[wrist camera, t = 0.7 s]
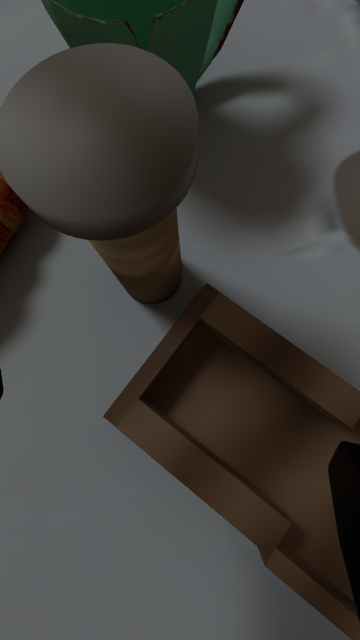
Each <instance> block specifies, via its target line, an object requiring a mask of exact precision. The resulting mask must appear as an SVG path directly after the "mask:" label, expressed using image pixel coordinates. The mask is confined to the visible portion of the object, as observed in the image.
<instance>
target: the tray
mask: <svg viewBox="0 0 360 640" xmlns="http://www.w3.org/2000/svg"><path fill="white" fill-rule="evenodd" d="M103 417H104V418H106V419H107V420H108V421H109V422H110V423H112V424H113V425H114V426H115V427H116V428H117V429H119V430H120V431H121V432H122V433H123V434H125V435H126V436H127V437H128V438H129V439H131V440H132V441H133V442H134V443H135V444H136V445H138V446H139V447H140V448H141V449H142V450H144V451H145V452H146V453H147V454H148V455H150V456H151V457H152V458H153V459H154V460H155V461H157V462H158V463H159V464H160V465H161V466H163V467H164V468H165V469H166V470H167V471H169V472H170V473H171V474H172V475H173V476H175V477H176V478H177V479H178V480H179V481H180V482H182V483H183V484H184V485H185V486H186V487H188V488H189V489H190V490H191V491H192V492H194V493H195V494H196V495H197V496H198V497H199V498H201V499H202V500H203V501H204V502H205V503H207V504H208V505H209V506H210V507H211V508H213V509H214V510H215V511H216V512H217V513H219V514H220V515H221V516H222V517H223V518H224V519H226V520H227V521H228V522H229V523H230V524H232V525H233V526H234V527H235V528H236V529H238V530H239V531H240V532H241V533H242V534H243V535H245V536H246V537H247V538H248V539H249V540H251V541H252V542H253V543H254V544H255V545H257V547H258V549H259V552H260V554H261V557H262V560H263V562H264V565H265V566H266V567H267V568H268V569H269V570H271V571H272V572H273V573H274V574H275V575H276V576H278V577H279V578H280V579H281V580H282V581H284V582H285V583H286V584H287V585H288V586H289V587H291V588H292V589H293V590H294V591H295V592H297V593H298V594H299V595H300V596H301V597H302V598H304V599H305V600H306V601H307V602H308V603H309V604H311V605H312V606H313V607H314V608H315V609H317V610H318V611H319V612H320V613H321V614H322V615H324V616H325V617H326V618H327V619H328V620H329V621H331V622H332V623H333V624H334V625H335V626H337V627H338V628H339V629H340V630H341V631H342V632H344V633H345V634H346V635H347V636H348V637H350V638H351V639H352V640H360V621H359V618H358V614H357V610H356V606H355V602H354V598H353V594H352V590H351V586H350V582H349V579H348V575H347V571H346V567H345V563H344V559H343V555H342V551H341V547H340V543H339V538H338V533H337V527H336V521H335V514H334V508H333V501H332V495H331V488H330V482H329V475H328V466H329V462H330V460H331V458H332V456H333V454H334V452H335V450H336V448H337V447H338V445H339V443H340V442H342V441H348V442H353V443H357V444H360V391H358V390H357V389H355V388H354V387H353V386H351V385H350V384H348V383H347V382H346V381H344V380H343V379H341V378H340V377H338V376H337V375H336V374H334V373H333V372H331V371H330V370H329V369H327V368H326V367H324V366H323V365H322V364H320V363H319V362H317V361H316V360H315V359H313V358H312V357H310V356H309V355H307V354H306V353H305V352H303V351H302V350H300V349H299V348H298V347H296V346H295V345H293V344H292V343H291V342H289V341H288V340H286V339H285V338H283V337H282V336H281V335H279V334H278V333H276V332H275V331H274V330H272V329H271V328H269V327H268V326H267V325H265V324H264V323H262V322H261V321H260V320H258V319H257V318H255V317H254V316H252V315H251V314H250V313H248V312H247V311H245V310H244V309H243V308H241V307H240V306H238V305H237V304H236V303H234V302H233V301H231V300H230V299H228V298H227V297H226V296H224V295H223V294H221V293H220V292H219V291H217V290H216V289H214V288H213V287H212V286H210V285H209V284H207V283H206V284H205V285H204V287H203V288H202V289H201V290H200V292H199V293H198V294H197V296H196V297H195V298H194V300H193V301H192V302H191V303H190V305H189V306H188V307H187V309H186V310H185V311H184V312H183V314H182V315H181V316H180V318H179V319H178V320H177V321H176V323H175V324H174V325H173V327H172V328H171V329H170V331H169V332H168V333H167V334H166V336H165V337H164V338H163V340H162V341H161V342H160V343H159V345H158V346H157V347H156V349H155V350H154V351H153V352H152V354H151V355H150V356H149V358H148V359H147V360H146V362H145V363H144V364H143V365H142V367H141V368H140V369H139V371H138V372H137V373H136V374H135V376H134V377H133V378H132V380H131V381H130V382H129V383H128V385H127V386H126V387H125V389H124V390H123V391H122V393H121V394H120V395H119V396H118V398H117V399H116V400H115V402H114V403H113V404H112V405H111V407H110V408H109V409H108V411H107V412H106V413H105V414H104V416H103Z"/></svg>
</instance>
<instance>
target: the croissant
mask: <svg viewBox="0 0 360 640" xmlns="http://www.w3.org/2000/svg"><path fill="white" fill-rule="evenodd" d="M27 208H28V206H27V205H26V203H25V202H24V201H23V200H22V199H21V198H20V197H19V196H18V195H17V194H16V193H15V192H14V191H13V189H12V188H11V187H10V186H9V185H8V183H7V181H6V180H5V178H4V177H3V175H2V173H1V171H0V256H1V254H2V252H3V250H4V249H5V247H6V246H7V244H8V243H9V241H10V240H11V238H12V236H13V234H14V232H16V231H17V230H18V229H19V228H20V226H21V224H22V222H23V220H24V217H25V214H26V211H27Z"/></svg>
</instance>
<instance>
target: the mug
mask: <svg viewBox="0 0 360 640" xmlns="http://www.w3.org/2000/svg"><path fill="white" fill-rule="evenodd" d="M41 1H42V3H43V5H44V7H45V9H46V10H47V12H48V14H49V15H50V17H51V19H52V20H53V22H54V24H55V25H56V27H57V28H58V30H59V32H60V33H61V35H62V36H63V38H64V39H65V41H66V43H67V44H68V46H69V47H70V48H74V47H77V46H82V45H87V44H97V43H115V44H123V45H129V46H133V47H137V48H140V49H143V50H145V51H148V52H150V53H152V54H154V55H156V56H158V57H160V58H161V59H163V60H164V61H166V62H167V63H169V64H170V65H171V66H172V67H173V68H174V69H175V70H176V71H178V73H179V74H180V75H181V76H182V77H183V79H184V80H185V81H186V83H187V85H188V86H189V88H190V89H191V92H192V94H193V92H194V89H195V86H196V83H197V81H198V80H199V79H200V77H201V76H202V74H203V73H204V72H205V70H206V69H207V68H208V66H209V65H210V64H211V62H212V61H213V59H214V58H215V57H216V55H217V54H218V53H219V51H220V50H221V48H222V46H223V44H224V42H225V39H226V37H227V35H228V33H229V31H230V29H231V27H232V25H233V22H234V20H235V18H236V16H237V14H238V12H239V10H240V8H241V6H242V3H243V1H244V0H41Z"/></svg>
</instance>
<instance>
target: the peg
mask: <svg viewBox="0 0 360 640" xmlns="http://www.w3.org/2000/svg"><path fill="white" fill-rule="evenodd" d="M198 142H199V117H198V110H197V106H196V102H195V99H194V96H193V94H192V92H191V89H190V88H189V86H188V85H187V83H186V81H185V80H184V79H183V77H182V76H181V75H180V74H179V73H178V71H176V70H175V69H174V68H173V67H172V66H171V65H170V64H169V63H167V62H166V61H164V60H163V59H161V58H160V57H158V56H156V55H154V54H152V53H150V52H148V51H145V50H143V49H140V48H137V47H133V46H129V45H123V44H115V43H97V44H87V45H82V46H77V47H74V48H70V49H67V50H64V51H62V52H59V53H57V54H55V55H52V56H50V57H49V58H47V59H45V60H43V61H42V62H40V63H39V64H37V65H36V66H34V67H33V68H32V69H30V70H29V71H28V72H27V73H26V74H25V75H24V76H23V77H21V79H20V80H19V81H18V82H17V83H16V84H15V85H14V87H13V88H12V89H11V91H10V92H9V94H8V95H7V97H6V99H5V101H4V102H3V104H2V106H1V109H0V170H1V173H2V175H3V177H4V178H5V180H6V181H7V183H8V185H9V186H10V187H11V188H12V189H13V191H14V192H15V193H16V194H17V195H18V196H19V197H20V198H21V199H22V200H23V201H24V202H25V203H26V205H27V206H28V207H29V208H30V209H31V210H32V211H33V212H34V213H35V214H36V215H37V216H38V217H39V218H40V219H41V220H43V221H44V222H45V223H46V224H48V225H49V226H51V227H52V228H54V229H55V230H58V231H60V232H62V233H64V234H66V235H69V236H73V237H76V238H80V239H86V240H89V241H90V243H91V244H92V245H93V247H94V248H95V249H96V251H97V252H98V253H99V255H100V256H101V257H102V259H103V260H104V261H105V263H106V264H107V265H108V267H109V268H110V269H111V271H112V272H113V273H114V275H115V276H116V277H117V279H118V280H119V281H120V283H121V284H122V285H123V287H124V288H125V290H126V291H127V292H128V293H129V295H130V296H131V297H133V298H134V299H135V300H137V301H139V302H142V303H146V304H157V303H161V302H164V301H166V300H168V299H169V298H171V297H172V296H173V295H174V294H175V293H176V292H177V290H178V288H179V286H180V284H181V281H182V265H181V254H180V243H179V232H178V221H177V209H176V207H177V206H178V205H179V204H180V203H181V201H182V200H183V198H184V197H185V196H186V194H187V192H188V190H189V188H190V187H191V185H192V182H193V179H194V176H195V173H196V169H197V164H198Z"/></svg>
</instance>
